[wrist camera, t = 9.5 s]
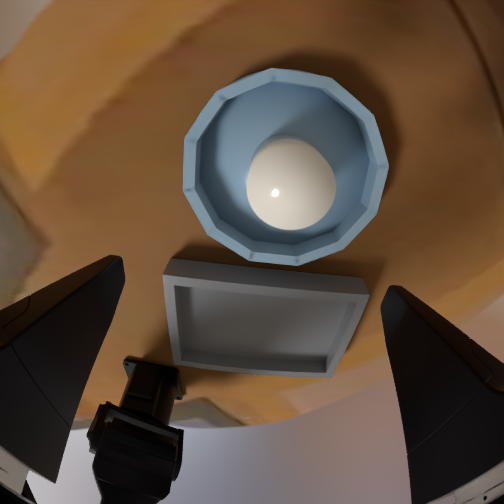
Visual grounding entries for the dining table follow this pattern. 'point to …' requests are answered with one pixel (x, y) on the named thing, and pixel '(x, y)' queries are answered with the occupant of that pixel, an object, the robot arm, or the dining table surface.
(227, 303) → the parts tray
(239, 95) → the blue ring
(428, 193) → the dining table surface
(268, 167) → the white marshmallow
